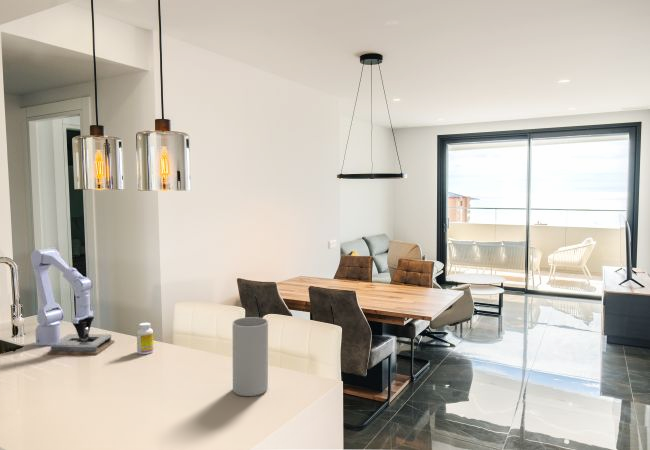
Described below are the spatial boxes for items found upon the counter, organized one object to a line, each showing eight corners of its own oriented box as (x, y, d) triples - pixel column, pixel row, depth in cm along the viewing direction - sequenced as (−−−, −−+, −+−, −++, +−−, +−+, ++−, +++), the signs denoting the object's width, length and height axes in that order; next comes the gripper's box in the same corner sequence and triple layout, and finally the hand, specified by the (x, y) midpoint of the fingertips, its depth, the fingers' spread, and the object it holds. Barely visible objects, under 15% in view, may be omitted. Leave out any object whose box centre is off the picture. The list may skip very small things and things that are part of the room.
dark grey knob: (74, 347, 208) (74, 329, 207) (81, 342, 214) (80, 325, 213) (87, 347, 208) (86, 329, 207) (93, 342, 214) (92, 325, 213)
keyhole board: (47, 354, 202) (47, 352, 202) (68, 342, 219) (68, 340, 219) (97, 354, 203) (97, 352, 203) (114, 342, 220) (114, 340, 219)
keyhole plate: (51, 351, 203) (50, 344, 203) (69, 340, 218) (69, 334, 218) (96, 351, 203) (95, 344, 203) (111, 340, 218) (111, 334, 218)
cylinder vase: (273, 385, 173) (273, 318, 171) (259, 399, 161) (259, 328, 159) (242, 381, 176) (242, 316, 174) (226, 394, 164) (226, 325, 162)
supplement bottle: (156, 351, 207) (156, 323, 207) (143, 356, 202) (143, 326, 201) (146, 348, 211) (146, 321, 210) (134, 353, 205) (133, 324, 204)
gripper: (83, 309, 202) (84, 339, 203) (99, 301, 217) (100, 330, 218) (67, 309, 202) (68, 339, 203) (84, 301, 217) (84, 330, 218)
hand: (83, 334), depth 211 cm, fingers closed on dark grey knob, 4 cm apart
